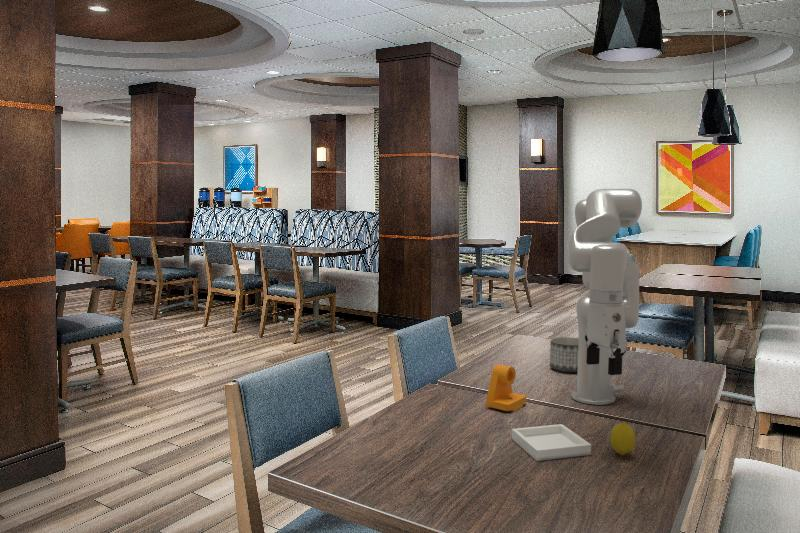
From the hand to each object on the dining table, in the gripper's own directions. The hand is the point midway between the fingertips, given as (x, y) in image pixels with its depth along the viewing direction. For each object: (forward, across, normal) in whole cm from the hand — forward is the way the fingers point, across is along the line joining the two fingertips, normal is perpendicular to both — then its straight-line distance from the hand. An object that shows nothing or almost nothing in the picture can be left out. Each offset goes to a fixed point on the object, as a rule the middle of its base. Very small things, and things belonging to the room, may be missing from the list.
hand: (603, 369), depth 150 cm
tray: (+20, +5, +11) cm, 23 cm away
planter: (+19, +67, -27) cm, 75 cm away
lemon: (+20, -4, -4) cm, 21 cm away
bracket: (+20, +35, +10) cm, 42 cm away
